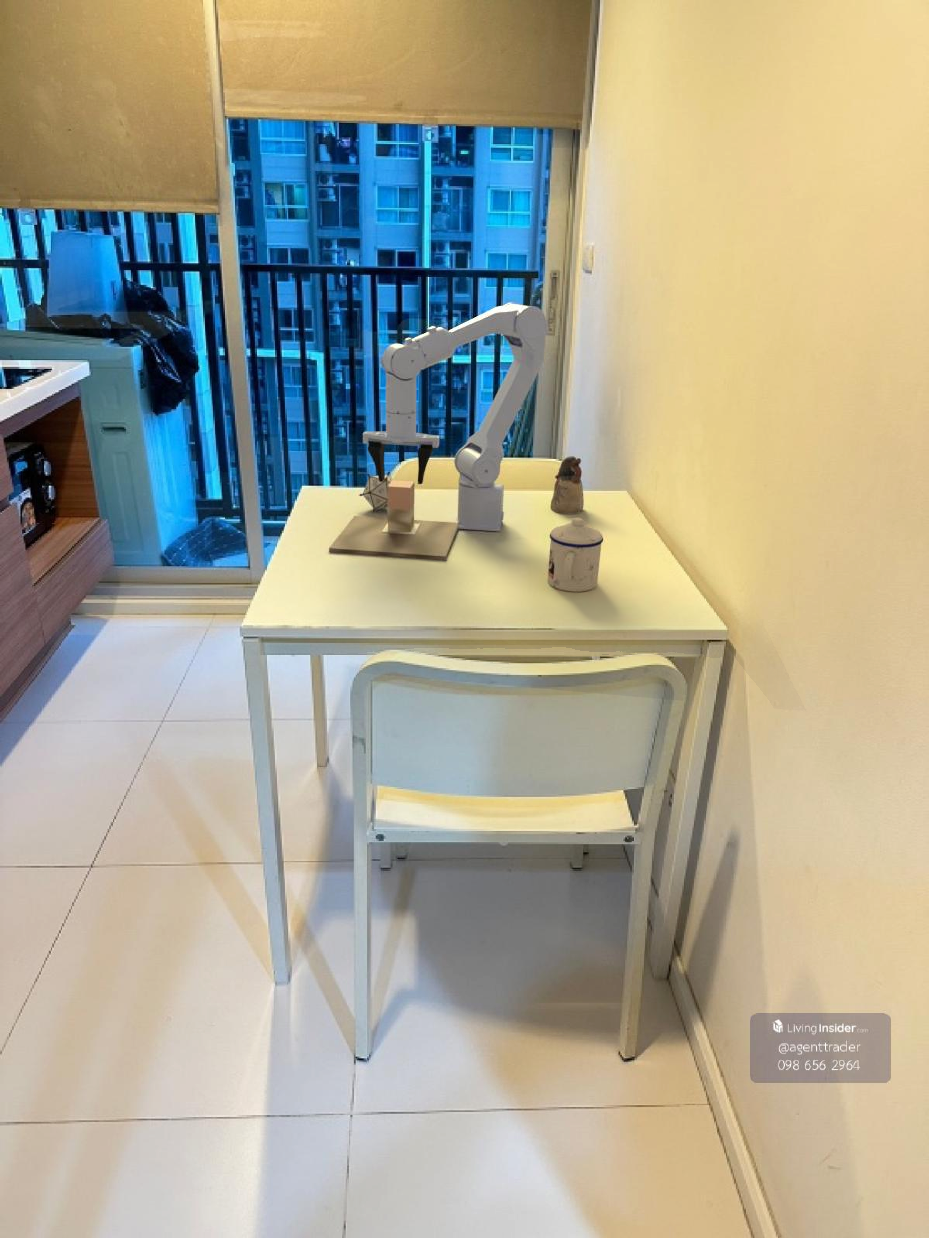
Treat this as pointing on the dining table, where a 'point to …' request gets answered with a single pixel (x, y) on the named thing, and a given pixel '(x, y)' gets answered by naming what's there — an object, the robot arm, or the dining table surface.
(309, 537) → the dining table surface
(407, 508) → the terracotta block
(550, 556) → the teacup with lid
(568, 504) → the figurine
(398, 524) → the birch block
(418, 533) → the brown wooden board
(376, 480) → the game die
